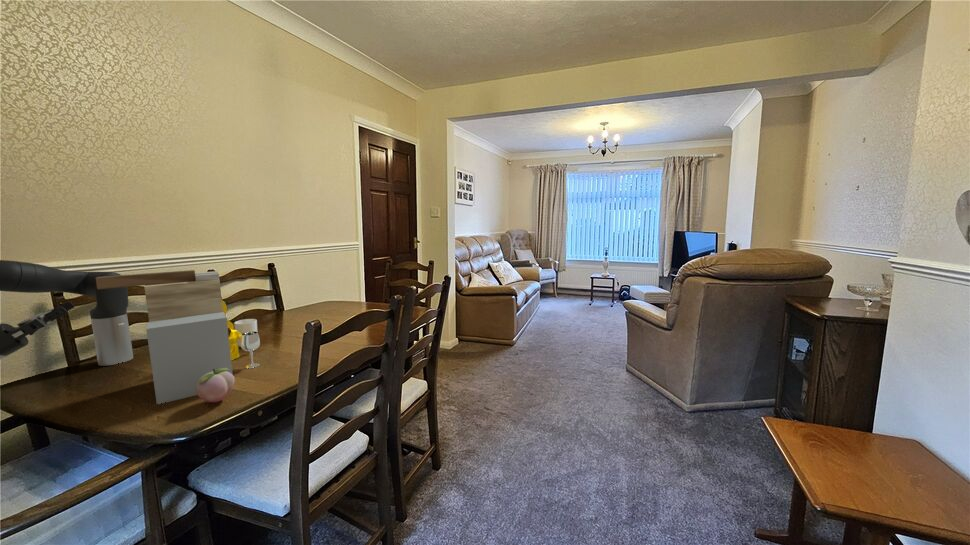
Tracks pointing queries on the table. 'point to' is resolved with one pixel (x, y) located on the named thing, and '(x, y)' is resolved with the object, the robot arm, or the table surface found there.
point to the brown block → (154, 278)
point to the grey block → (186, 353)
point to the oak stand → (183, 299)
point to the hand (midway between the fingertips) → (68, 306)
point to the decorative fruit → (215, 385)
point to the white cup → (245, 327)
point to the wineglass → (250, 345)
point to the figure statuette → (232, 336)
